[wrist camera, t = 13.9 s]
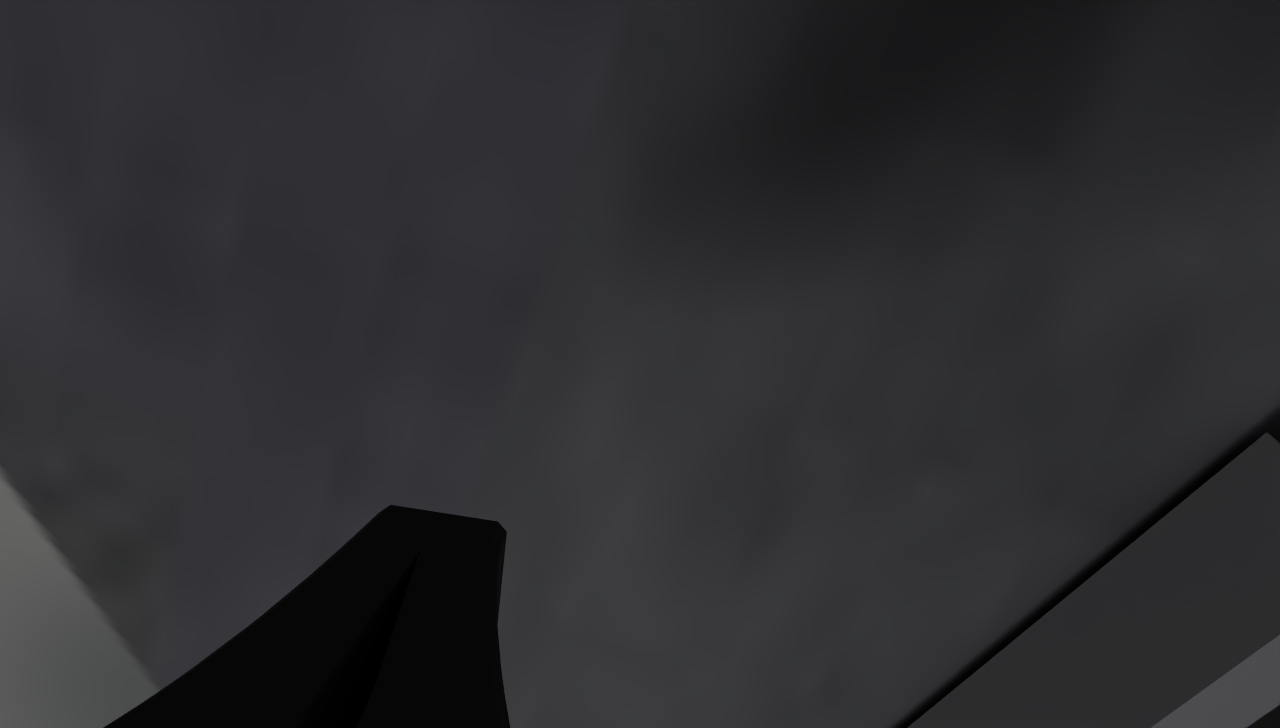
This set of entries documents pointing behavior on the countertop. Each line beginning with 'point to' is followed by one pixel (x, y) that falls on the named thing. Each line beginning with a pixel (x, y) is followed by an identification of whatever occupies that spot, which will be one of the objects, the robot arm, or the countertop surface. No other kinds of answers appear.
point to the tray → (1155, 626)
